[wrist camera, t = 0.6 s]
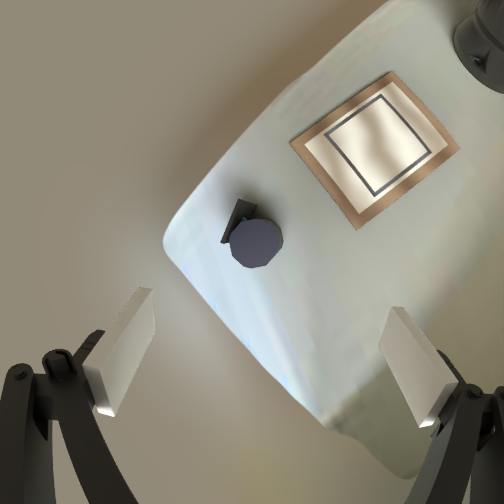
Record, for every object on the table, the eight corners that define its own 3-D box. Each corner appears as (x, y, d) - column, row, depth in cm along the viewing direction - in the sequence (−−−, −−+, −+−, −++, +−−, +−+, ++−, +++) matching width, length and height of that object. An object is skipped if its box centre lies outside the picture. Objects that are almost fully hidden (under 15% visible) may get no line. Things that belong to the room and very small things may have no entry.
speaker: (227, 232, 44) (202, 232, 34) (254, 203, 43) (236, 194, 33) (264, 269, 43) (249, 280, 33) (293, 240, 42) (286, 243, 32)
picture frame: (391, 74, 36) (392, 70, 34) (458, 150, 33) (461, 147, 32) (291, 145, 41) (289, 143, 40) (356, 230, 39) (356, 229, 37)
